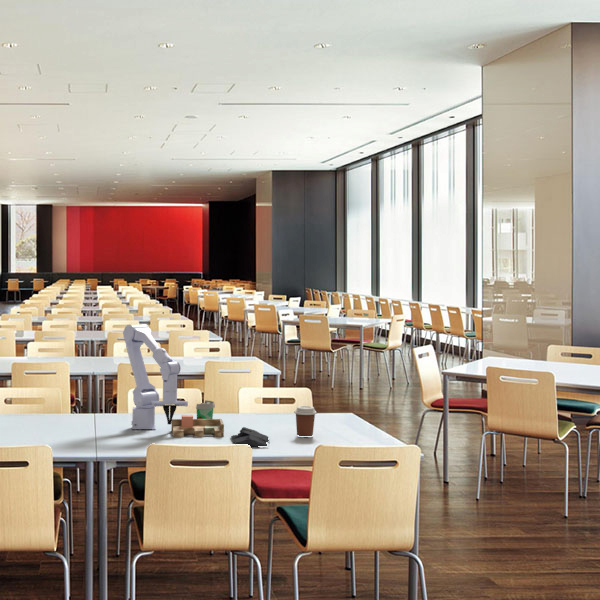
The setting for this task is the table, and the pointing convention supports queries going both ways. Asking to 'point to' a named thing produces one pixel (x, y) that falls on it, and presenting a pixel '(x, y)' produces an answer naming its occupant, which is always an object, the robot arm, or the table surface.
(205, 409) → the food container
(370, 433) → the table surface
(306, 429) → the coffee cup
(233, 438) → the dark slate chunk
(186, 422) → the clay-red block
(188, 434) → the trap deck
